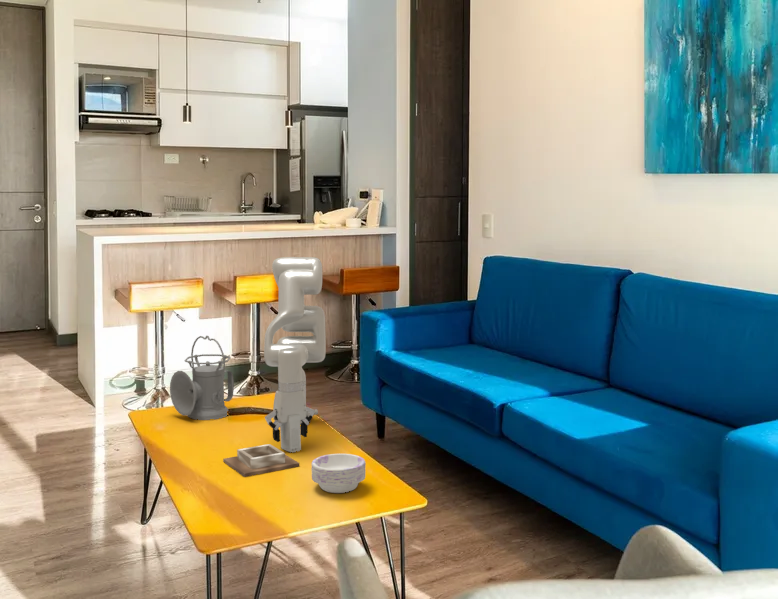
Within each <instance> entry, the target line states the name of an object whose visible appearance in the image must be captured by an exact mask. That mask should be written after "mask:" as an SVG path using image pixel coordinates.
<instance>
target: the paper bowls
mask: <svg viewBox="0 0 778 599" xmlns="http://www.w3.org/2000/svg"><path fill="white" fill-rule="evenodd" d="M366 463H367V462H366V459H365V458H363V457H361V456H359V455H357V454H351V453H330V454H324V455H320V456H318V457H316V458H314V459H313V460H312V462H311V479H312V481H313V482H314V483H316V484H318V486H319V488H320V489H322V490H323V491H325V492H327V493H331V494H345V492H346V493H349V491H350V492H352V491H354V490H355V489H357V487H358V485H359V483H360V482H363V481H364V480H365V478H366Z"/></svg>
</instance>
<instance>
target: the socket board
mask: <svg viewBox="0 0 778 599" xmlns="http://www.w3.org/2000/svg"><path fill="white" fill-rule="evenodd" d="M236 452H237V456H232V457H225V458H223V461H222V462H223V463H224V462H225V463H224V464H225V465H227V466H228V467H230V468H231V467H232V468H231V469H233V470H234V471H235V470H236V472H237V473H238V474H239V475H241V476H242V477H244V478H247V477H253V476H257V475H256V474H258V475H261V474H266V473H267V474H268V473H272V472H277V471H282V470H287V469H293V468H298V467H300V462H298V461H297V460H295V459H294V458H292V457H290V456H288V455H287V454H286V453H285V452H284V451H282V450H281V449H279V448H277V447H276V446H274V445H272V444H270V443H269V444H262V445H261V444H260V445H256V446H251V447H244V448H239V449H238V448H237V450H236ZM252 475H253V476H252Z"/></svg>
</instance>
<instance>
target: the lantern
mask: <svg viewBox="0 0 778 599" xmlns="http://www.w3.org/2000/svg"><path fill="white" fill-rule="evenodd" d="M199 339H203V340H208V341H214V342H215V343H216V344H217V346H218V348H219V350H220V353H221V354H220V353H215V354H213V353H211V354H210V353H209V354H208V353H207V354H204V353H202V354H195V355H194V348H195V346H196V343H197V341H198V340H199ZM199 357H222V360H218V361H214V362H210V360H209V361H208V360H207V361H206V362H200V361H199V359H198V358H199ZM189 359H191V360H189ZM230 359H231V356H228V355H226V354H224V352H223V348H222V346H221V344H220V343H219V341H218V340H217V339H216V338H210V336H209V335H205V336H202V335H200V336H197V337H196V338H195V339H194V342H193V343H192V346H191V354H190V356H187V357H186V358H184V362H185V363H187V364H189V367H190V368H191V370H192V371H191V372H192V374H191V375H192V376H191V377H192V379H191V377H190V376H189V374H188V373H186V372H185V371H183V370H177V371H176V372H174V373H173V374H172V376H171V379H170V381H169V382H170V383H169V393H170V394H169V396H170V399H171V403H172V404H173V407H174V409H175V410H176V412H177V413H178V414H180V415H182V416H187V417H188V418H189V419H192V420H197V419H198V420H199V421H211V420H210V419H214V420H220V419H224V418H227V417H228V416H227V411H229V408H228V407H227V406H226V405H225V403H226V402H230V401H231V400H232V399H233V396H234V392H235V391H234V388H235V385H234V384H235V383H234V375H233V373H232V371H230V370H228V369H226V363H228V362H229V361H230ZM194 360H195V361H194ZM217 364H218V365H217ZM195 365H197V366H195ZM225 373H227V397H226V398H225V388H224V386H225V384H224V383H225V380H224V379H225ZM226 416H227V417H226ZM223 417H224V418H223ZM219 418H220V419H219Z"/></svg>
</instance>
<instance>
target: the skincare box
mask: <svg viewBox="0 0 778 599" xmlns="http://www.w3.org/2000/svg"><path fill="white" fill-rule="evenodd" d="M279 428H280V429H279V430H280V448H281V449H282V450H284V451H286V452H289V453H291V452H292V453H297V452H300V450H301V451H302V443H301V442H302V439H301V438H302V435H301V426H300V415H299V414H298V415H291V416H288V422H287V423H282V424H281V425H280V427H279ZM296 451H297V452H296Z"/></svg>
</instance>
